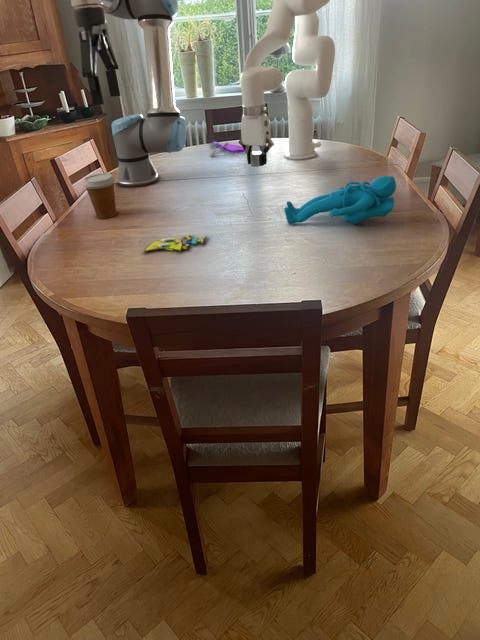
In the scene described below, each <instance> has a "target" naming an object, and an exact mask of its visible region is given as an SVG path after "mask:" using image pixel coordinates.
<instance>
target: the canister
mask: <svg viewBox="0 0 480 640" xmlns="http://www.w3.org/2000/svg"><path fill="white" fill-rule="evenodd" d="M252 151H253V152H250V162H251V164H250V166H251V167H253V168H258V167H262V166H261V165H260V154H261V151H260V150H252Z"/></svg>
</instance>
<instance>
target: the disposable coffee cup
mask: <svg viewBox="0 0 480 640" xmlns="http://www.w3.org/2000/svg"><path fill="white" fill-rule="evenodd" d="M114 183H115V178H114V177H113V175H112V174H111V173H107V172H106V173H96V174H91V175H87V176H85V177H84V179H83V186H84V187H85V189H86V192H87V195H88V197H89V199H90V202H91V204H92V207H93V209H94V212H95V215H96V217H97V218H100V219H106V218H111V217H113V216H115V215H117V203H116V195H115V193H116V192H115V184H114Z"/></svg>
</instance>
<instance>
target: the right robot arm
mask: <svg viewBox="0 0 480 640" xmlns="http://www.w3.org/2000/svg"><path fill="white" fill-rule="evenodd" d="M330 1H331V0H273V4H272V6H271V10H270V13H269V17H268V22H267V25H266V28H265V32H264V34H262V36H260V38H259V39H258V40H257V41H256V42H255V43H254V45H253V46H252V47H251V49H250V50H249V52H248V54H247V56H246V59H245V62H244V66H243V69H242V72H241V74H240V88H241V89H240V91H241V101H242V102H241V103H242V115H241V123H240V135H241V136H240V138H239V140H238V145H240V146H242V147H243V149H244V150H245V151H244V153H245V154H246V159H247V165H251V162H250V152H253V151H254V150H253V146H256V147H259V151H261V154H260V165H261V166H260V167H263V166H264V165H267V162H268V157H267V153H269V151H270V150H271V149H272V148H273V147H274V145H275V143H274V141H273V140H272V133H271V125H270V120H269V116H268V114H267V112H268V107H266V104H265V92H266V93H267V92H274V91H277V90H278V89H280V87H281V86H282V84H283V73H282V71H281V70H280V69H279V68H277V67H275V66H261V65H262V63H263V62H264V61H265V59H266V58H267V57H268V56H269V55H271V54H272V53H274V52H276V51H278V50H280V49H281V48H282V47H284V46H286V45H287V44H288V43H289V41H290V37H291V34H292V30H293V27H294V24H295V28H294V29H295V30H294V37H293V46H292V60H293V62H294V64H295V65H297V66H303V67H311V66H313V67H314V66H315V67H316V68H315V69H311V68H310V69H309V68H307V69H305V68H303V69H301V68H300V69H299V68H298V69H293V70H291V71H289V72H288V73H287V74H286V76H285V80H284V89H285V94H286V99H287V100H286V101H287V114H288V116H287V118H288V119H287V120H288V151H286V152H285V155H284V156H285V158H286V159H289V160H307V159H308V160H309V159H311V158H314V157H316V156H317V151H316V148H320V147H321V146H322V143H321V142H320V141H317V142H314V141H313V134H314V133H313V128H314V127H313V125H314V124H313V120H314V117H313V115H314V111H313V104H312V103H311V100H310V99H311V98H312V99H322V98H325V97H326V96H328V94H329V92H330V89H331V84H332V78H333V71H334V65H335V59H336V45H335V42H334V40H333V38H332V37H331V36H328V35H319V30H320V29H319V28H320V19H319V15H318V14H317V12H318V11H319V10H320V9H323V8H324V6H326V5H328V3H330Z"/></svg>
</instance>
